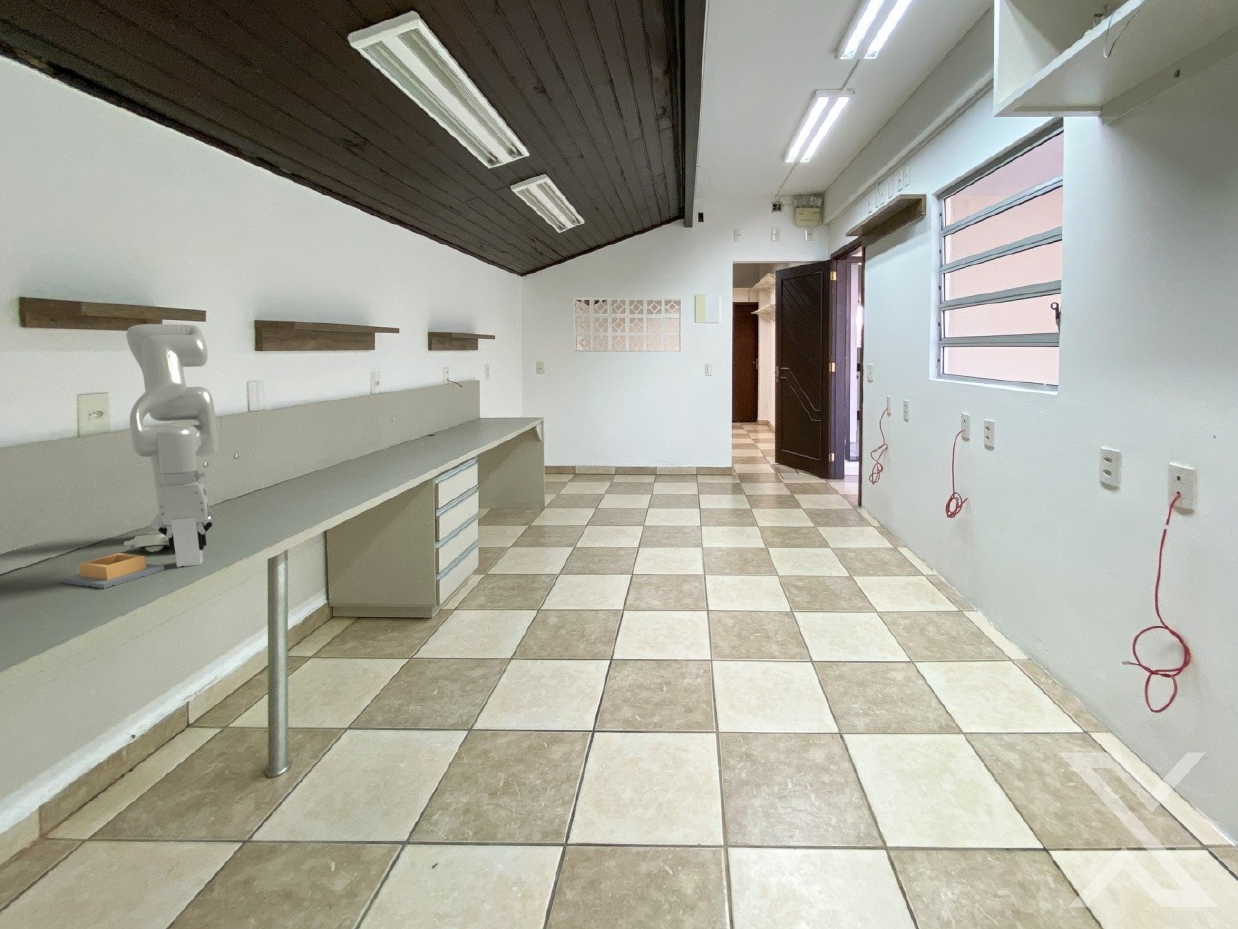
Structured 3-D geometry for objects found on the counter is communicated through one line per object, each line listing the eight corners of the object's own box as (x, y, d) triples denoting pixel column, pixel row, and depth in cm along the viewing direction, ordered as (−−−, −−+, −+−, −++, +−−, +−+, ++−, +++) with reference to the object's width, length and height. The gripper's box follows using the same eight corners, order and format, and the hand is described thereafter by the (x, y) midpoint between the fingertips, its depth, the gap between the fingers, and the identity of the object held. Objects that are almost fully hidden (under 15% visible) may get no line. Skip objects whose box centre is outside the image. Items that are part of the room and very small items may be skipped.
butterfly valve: (119, 555, 176) (187, 547, 177) (118, 479, 179) (185, 472, 180) (141, 556, 184) (206, 548, 185) (140, 483, 187) (204, 476, 188)
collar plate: (124, 564, 169) (122, 549, 168) (164, 570, 164) (162, 554, 164) (62, 582, 156) (59, 565, 155) (104, 588, 151) (101, 571, 151)
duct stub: (203, 559, 173) (197, 512, 171) (200, 564, 168) (195, 516, 166) (180, 561, 171) (174, 514, 169) (177, 567, 166) (171, 518, 164)
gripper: (221, 473, 173) (229, 542, 176) (141, 479, 166) (150, 551, 169) (218, 477, 166) (226, 549, 169) (135, 484, 159) (145, 559, 162)
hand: (188, 549), depth 169 cm, fingers closed on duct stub, 5 cm apart
